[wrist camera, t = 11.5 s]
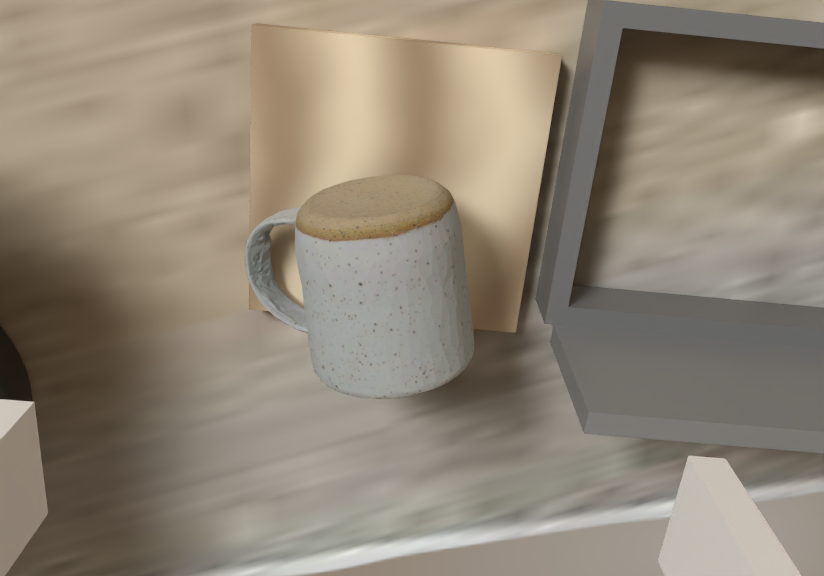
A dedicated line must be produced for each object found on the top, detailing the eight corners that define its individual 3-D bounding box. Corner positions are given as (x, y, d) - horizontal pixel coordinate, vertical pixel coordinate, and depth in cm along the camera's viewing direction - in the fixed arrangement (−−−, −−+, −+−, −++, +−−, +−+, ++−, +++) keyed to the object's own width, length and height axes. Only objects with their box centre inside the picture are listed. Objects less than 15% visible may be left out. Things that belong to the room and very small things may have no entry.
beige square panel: (253, 300, 39) (248, 309, 38) (257, 23, 34) (251, 24, 33) (512, 323, 40) (515, 332, 38) (557, 53, 34) (561, 56, 33)
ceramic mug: (456, 157, 34) (458, 220, 27) (472, 310, 38) (478, 400, 31) (234, 182, 35) (182, 249, 28) (271, 329, 39) (234, 420, 32)
